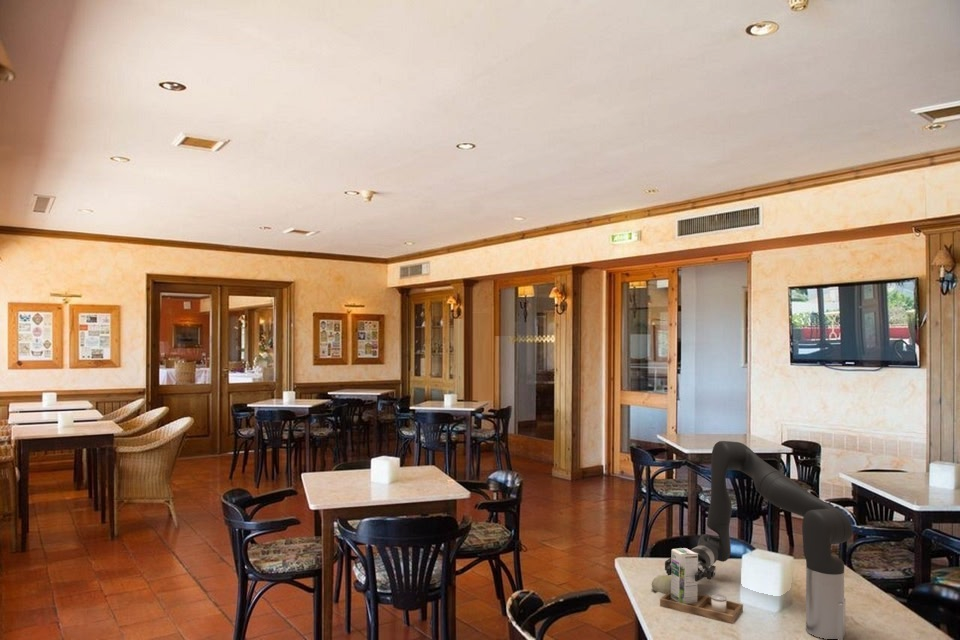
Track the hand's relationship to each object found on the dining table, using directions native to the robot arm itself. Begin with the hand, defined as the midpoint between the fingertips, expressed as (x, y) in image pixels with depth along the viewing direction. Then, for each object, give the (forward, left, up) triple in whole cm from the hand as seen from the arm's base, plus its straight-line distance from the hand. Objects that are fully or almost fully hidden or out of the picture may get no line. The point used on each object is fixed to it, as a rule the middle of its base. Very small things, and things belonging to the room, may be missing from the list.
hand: (682, 574), depth 197 cm
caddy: (-5, -2, -10) cm, 12 cm away
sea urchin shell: (+8, -12, -11) cm, 18 cm away
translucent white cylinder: (-10, -2, -9) cm, 14 cm away
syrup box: (0, -2, -8) cm, 8 cm away
